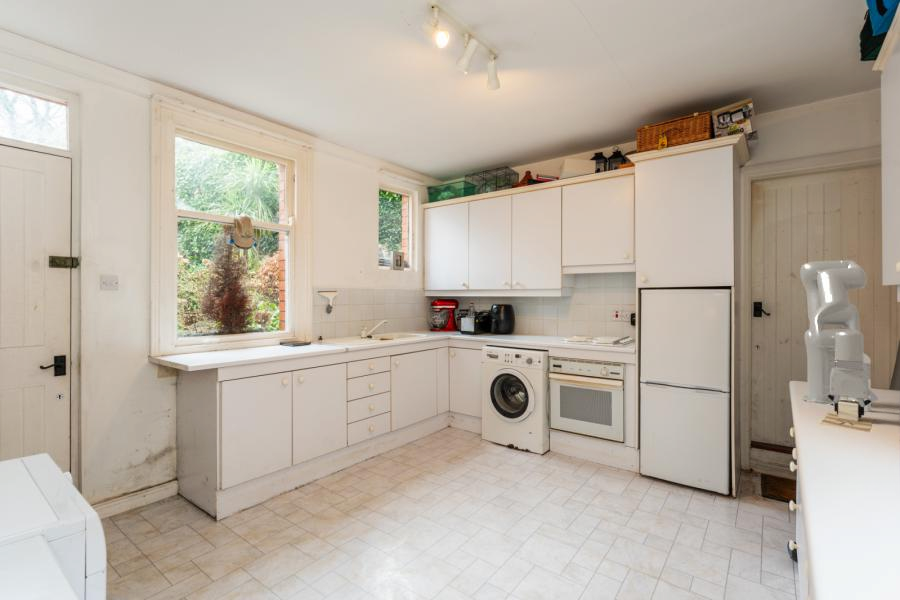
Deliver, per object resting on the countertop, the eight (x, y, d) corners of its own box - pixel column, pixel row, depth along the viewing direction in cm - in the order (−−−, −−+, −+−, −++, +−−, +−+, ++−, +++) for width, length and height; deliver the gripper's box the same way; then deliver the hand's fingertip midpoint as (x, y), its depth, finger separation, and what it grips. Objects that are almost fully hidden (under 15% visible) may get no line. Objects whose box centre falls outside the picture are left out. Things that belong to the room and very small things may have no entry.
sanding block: (841, 414, 155) (840, 398, 155) (859, 417, 151) (859, 401, 151) (838, 419, 150) (838, 402, 150) (857, 422, 146) (857, 405, 146)
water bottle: (876, 414, 159) (875, 348, 159) (857, 414, 160) (857, 348, 159) (858, 409, 166) (858, 346, 166) (841, 409, 166) (841, 346, 166)
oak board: (829, 414, 159) (829, 411, 159) (874, 421, 150) (874, 418, 150) (820, 426, 145) (820, 423, 145) (869, 434, 136) (869, 431, 136)
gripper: (816, 363, 154) (816, 412, 154) (882, 369, 142) (882, 422, 142) (819, 361, 159) (819, 408, 159) (883, 366, 147) (883, 418, 147)
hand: (849, 414), depth 151 cm, fingers closed on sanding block, 5 cm apart
